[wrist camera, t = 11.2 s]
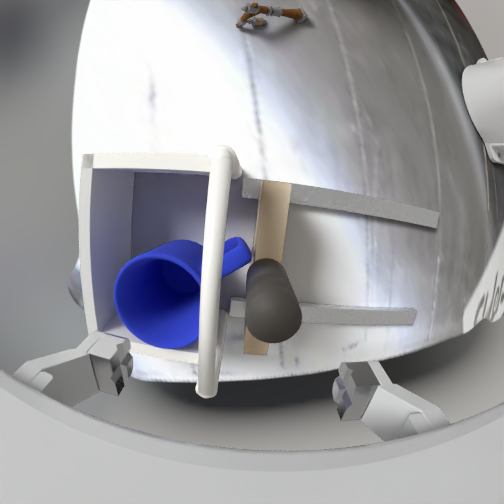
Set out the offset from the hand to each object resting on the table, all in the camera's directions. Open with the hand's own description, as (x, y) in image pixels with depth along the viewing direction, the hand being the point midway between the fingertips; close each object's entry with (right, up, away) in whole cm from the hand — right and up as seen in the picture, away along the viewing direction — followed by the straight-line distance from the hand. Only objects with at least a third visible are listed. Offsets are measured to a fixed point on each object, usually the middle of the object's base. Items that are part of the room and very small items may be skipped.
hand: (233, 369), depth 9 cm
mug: (-5, +3, +20) cm, 21 cm away
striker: (+2, +4, +18) cm, 19 cm away
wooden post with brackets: (+3, +31, +14) cm, 34 cm away
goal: (-8, +5, +19) cm, 22 cm away
